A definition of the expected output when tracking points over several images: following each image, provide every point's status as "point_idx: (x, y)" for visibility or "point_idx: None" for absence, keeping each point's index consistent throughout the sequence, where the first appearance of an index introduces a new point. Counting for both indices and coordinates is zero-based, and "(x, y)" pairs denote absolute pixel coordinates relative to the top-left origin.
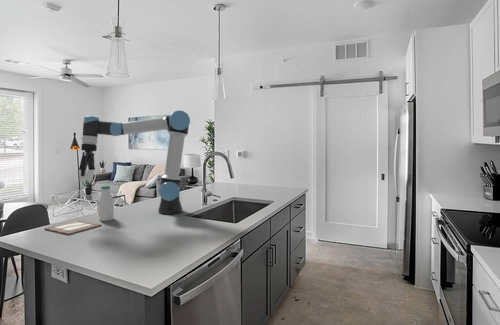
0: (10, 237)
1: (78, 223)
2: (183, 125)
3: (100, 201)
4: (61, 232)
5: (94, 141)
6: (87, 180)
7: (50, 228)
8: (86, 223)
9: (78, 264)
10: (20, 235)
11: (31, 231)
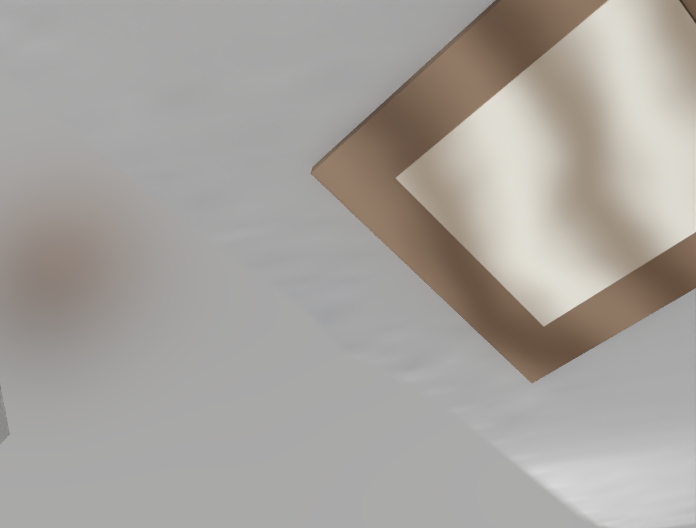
0: (645, 509)
1: (487, 145)
2: None
3: None
4: None
5: None
6: (2, 430)
7: (568, 344)
8: (521, 57)
9: None
10: (623, 474)
11: (535, 439)
